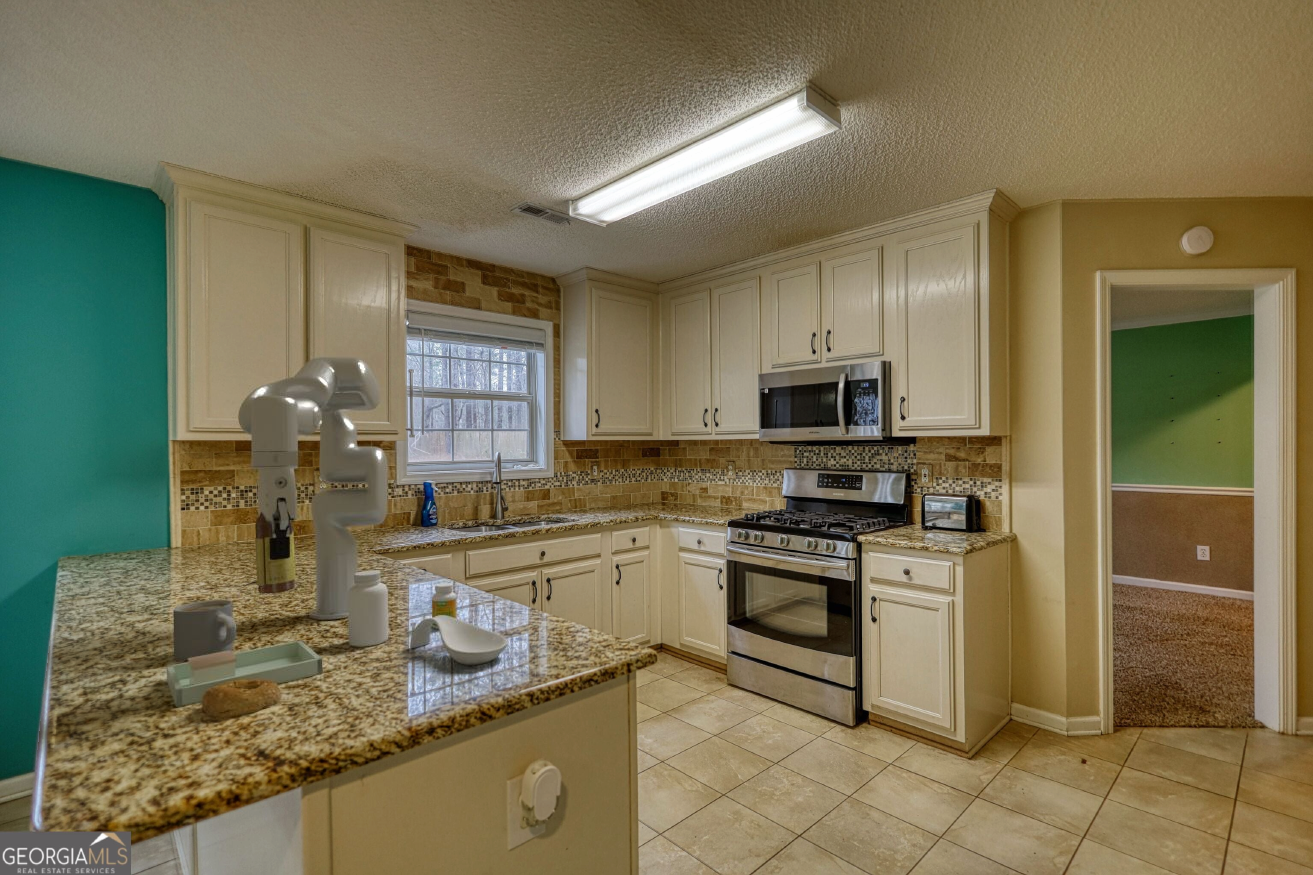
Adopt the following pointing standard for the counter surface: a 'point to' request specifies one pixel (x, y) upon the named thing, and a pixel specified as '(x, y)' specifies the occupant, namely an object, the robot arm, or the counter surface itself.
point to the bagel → (240, 697)
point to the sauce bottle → (273, 561)
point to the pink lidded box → (211, 667)
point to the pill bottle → (367, 610)
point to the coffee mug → (203, 628)
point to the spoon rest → (461, 640)
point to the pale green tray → (250, 670)
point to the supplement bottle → (443, 601)
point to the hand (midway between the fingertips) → (275, 555)
